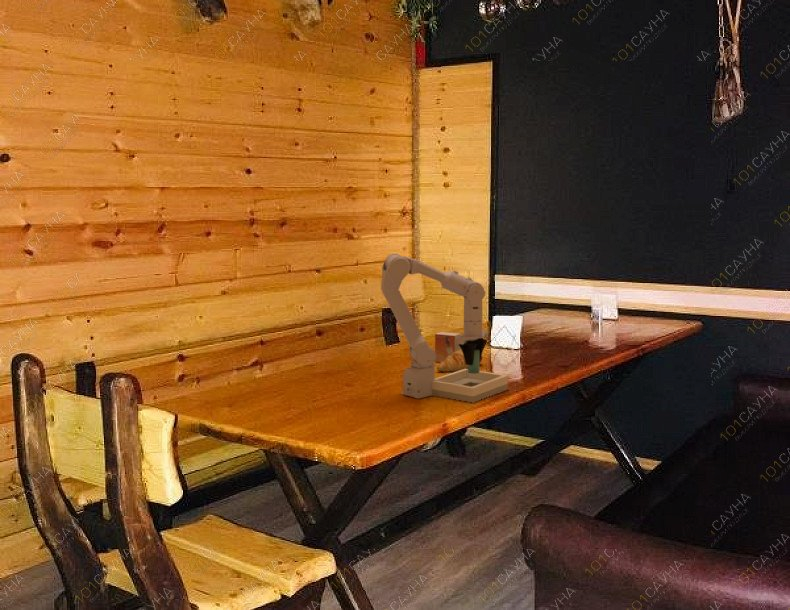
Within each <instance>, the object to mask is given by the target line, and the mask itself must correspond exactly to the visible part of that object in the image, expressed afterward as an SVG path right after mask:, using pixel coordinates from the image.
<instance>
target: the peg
mask: <svg viewBox="0 0 790 610" xmlns="http://www.w3.org/2000/svg"><path fill="white" fill-rule="evenodd" d="M479 355H480V350H478V349H475V352H474V359H473V365H468V373H472V374H476V373H479V371H480V364H479Z"/></svg>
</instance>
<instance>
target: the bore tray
mask: <svg viewBox="0 0 790 610" xmlns="http://www.w3.org/2000/svg"><path fill="white" fill-rule="evenodd" d="M507 389H508V390H509V375H507V374H501V373H500V374H499V373H495V372H488V371H484V370H482V371H481V370H479V373H476V374H472V373H468V369H463V370H460V371H457V372H451V373H447V374H445V375H442V376H439V377H435V380H434V381H432V394H434V395H432V396H433V397H438V396H439V397H440V398H443V397H444V399H448V398H450V400H454V399H456V400H455V401H459V400H461V401H460V402H464V401H467V402H466V403H470V402H472V403H471V404H474V402H475V403H477V402H480V401H481V399H482V400H485V399H487V398H490V397H493V396H495V395H497V393H498V394H500V393H502V392H505V391H507ZM494 394H495V395H494ZM492 395H493V396H492ZM489 396H490V397H489ZM486 397H487V398H486ZM484 398H485V399H484ZM479 400H480V401H479ZM476 401H477V402H476Z"/></svg>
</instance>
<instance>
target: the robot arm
mask: <svg viewBox="0 0 790 610" xmlns="http://www.w3.org/2000/svg"><path fill="white" fill-rule="evenodd" d="M381 271H382V272H381V273H382V274H381V281H380V283H381V284H380V289H381V292H382V294H383V296H384V298H385V300H386V303H387V304H388V305H389V307H390V310H391V311H392V313H393V316H394V318H395V319H396V321H397V324H398V326H399V327H400V329H401V330H402V333H403V335H404V337H405V338H406V342H407V345H408V346H409V347H408V348H409V356H410V357H411V359H412V361H411V363H410V366H409V367H407V368H406V369H404V371H403V374H402V391H401V394H402V395H403V396H408V397H412V398H415V399H423V398H427V397H431V396H433V395H434V394H432V381H434V380H435V378H436V377H435V373H436V372H435V368H436V367H435V363H436V362H435V360H436V353H435V349H434V348H433V347H431V346H430V345H429V344H428V341H427V340H426V339H425V337H424V336H423V334H422V333H421V330H420V328H419V327H418V325H417V323H416V321H415V318H414V317H413V315H412V313H411V311H410V309H409V307H408V305H407V303H406V301H405V300H404V297H403V296H402V294H401V292H400V288H401V285H402V282H403V280H404V279H405V278H406V277H407V276H408V275H409V274H410V275H415V274H420V275H422V276H425V277H428V278H430V279H433V280H435V281H437V282H439V283H440V284H441V288H442V289H445V290H447V291H449V292H451V293H453V294H456V295H458V296H460V297H461V296H462V298H463V334H461V336H460V337H458V338H457V344H459V346H460V348H461V350H462V352H463V355H464V359H465V363H466V365H473V359H474V352H475V349H478V350H480V355H479V363H480V360H481V356H482V357H483V351H484V349H485V347H486V345H487V344H488V339H487V338H489V331H488V330H487V331H486V330H483V299H484V298H485V297H486V296H485V295H486V291H485V288H484V287H483V285H482V284H481V283H479V282H477V281H474V280H473V279H472V278H471V277H465V276H463V275H460V274H459V272H458V271H457V270H453V271H452V270H448V271H446V272H444V271H441V270H439V269H437V268H435V267H432V266H431V265H428V264H427V263H424V262H423V261H420V260H418V259H415V258H411V257H408V256H402V255H401V254H397V253H391V254H389V255H388V256H387V257H386V258H385V260H384V262H383V264H382V266H381ZM481 361H482V360H481ZM480 364H481V363H480Z"/></svg>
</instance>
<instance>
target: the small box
mask: <svg viewBox="0 0 790 610" xmlns="http://www.w3.org/2000/svg"><path fill="white" fill-rule="evenodd" d="M461 335H462V333H459V332H446V331H440V332H437V333H435V336H434V351H435V353H436V360H435V362H434V363H441V362H442V361H444V360H445V359H446V358H447V357H448V356H450V354H452V353H453V352H455V351H458V350H461V348H460V346H459V344H457V338H458V337H460V336H461Z"/></svg>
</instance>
